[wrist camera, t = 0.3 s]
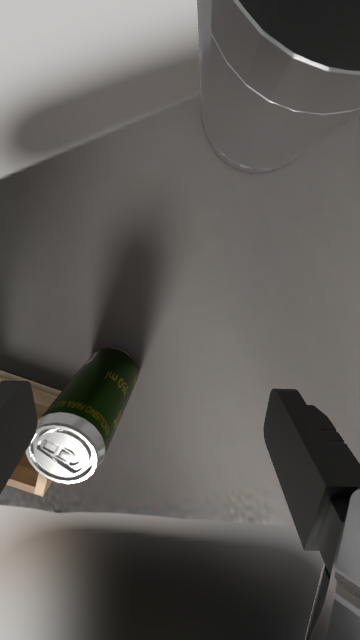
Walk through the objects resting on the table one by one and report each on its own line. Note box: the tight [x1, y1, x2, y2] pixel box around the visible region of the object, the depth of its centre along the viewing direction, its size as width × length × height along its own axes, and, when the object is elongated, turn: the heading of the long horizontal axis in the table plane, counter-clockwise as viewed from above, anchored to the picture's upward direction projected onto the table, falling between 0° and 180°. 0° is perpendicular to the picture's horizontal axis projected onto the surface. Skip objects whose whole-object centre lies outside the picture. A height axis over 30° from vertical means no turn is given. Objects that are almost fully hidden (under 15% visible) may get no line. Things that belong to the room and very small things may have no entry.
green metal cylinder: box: [26, 348, 138, 484], centre depth 25 cm, size 5×5×12 cm
